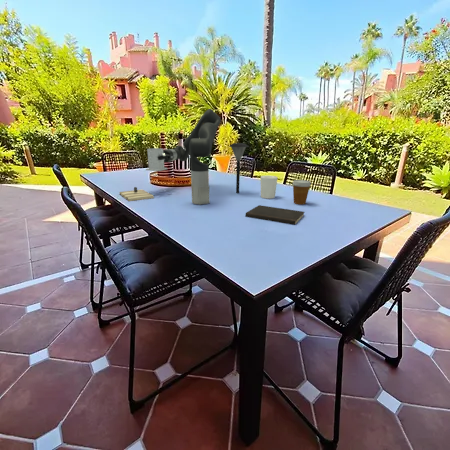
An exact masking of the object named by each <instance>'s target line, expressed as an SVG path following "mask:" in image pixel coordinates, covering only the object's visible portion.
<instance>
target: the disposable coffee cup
mask: <svg viewBox="0 0 450 450" xmlns="http://www.w3.org/2000/svg"><path fill="white" fill-rule="evenodd" d="M311 185H312V184H311V181H310V180H305V179H295V180H294V179H293V181H292V187H293V188H292V190H293V204H295V205H300V206H301V205H306V203H307V198H308V195H309V192H310V187H311Z"/></svg>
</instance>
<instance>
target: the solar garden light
mask: <svg viewBox="0 0 450 450" xmlns="http://www.w3.org/2000/svg"><path fill="white" fill-rule="evenodd" d="M228 147H229V148H230V147H231V149H232V152H233V155H234V157H235V159H236V177H235V178H236V179H235V180H236V183H235V185H236V186H235V187H236V188H235V191H236V192H235V193H236V194H240V176H241V175H240V170H241V169H240V168H241V167H240V166H241V159H242V157H243V155H244V153H245V150H246V148H249V147H250V146H249V145H248V144H246V143H243V142H241V143H239V142H234V143H232V144H230V145H229V146H228Z"/></svg>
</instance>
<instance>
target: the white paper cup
mask: <svg viewBox="0 0 450 450" xmlns="http://www.w3.org/2000/svg"><path fill="white" fill-rule="evenodd" d="M277 185H278V176H276V175H261V176H260V198H262V199H266V200H267V199H268V200H270V199H275V198H276V192H277Z"/></svg>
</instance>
